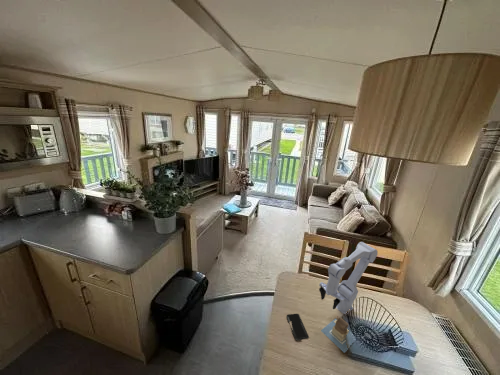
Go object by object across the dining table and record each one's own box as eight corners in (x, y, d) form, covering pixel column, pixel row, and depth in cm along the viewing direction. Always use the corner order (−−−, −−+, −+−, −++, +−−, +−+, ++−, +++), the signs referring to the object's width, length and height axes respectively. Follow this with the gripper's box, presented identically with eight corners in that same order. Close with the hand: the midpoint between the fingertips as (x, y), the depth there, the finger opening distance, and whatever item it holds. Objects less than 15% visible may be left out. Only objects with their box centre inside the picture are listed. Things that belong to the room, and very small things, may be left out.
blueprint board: (335, 319, 124) (335, 318, 124) (358, 338, 113) (358, 337, 113) (320, 331, 116) (320, 330, 116) (344, 353, 105) (344, 352, 105)
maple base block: (337, 327, 119) (339, 321, 117) (347, 335, 114) (349, 330, 113) (331, 332, 115) (332, 327, 114) (341, 341, 111) (343, 336, 109)
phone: (295, 339, 110) (286, 314, 124) (295, 341, 110) (285, 316, 124) (309, 338, 111) (298, 313, 125) (309, 339, 112) (298, 314, 126)
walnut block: (339, 323, 116) (340, 317, 115) (346, 330, 113) (348, 323, 111) (334, 327, 114) (336, 321, 112) (342, 334, 110) (343, 328, 109)
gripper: (317, 278, 121) (313, 297, 125) (340, 296, 110) (335, 316, 114) (325, 274, 125) (321, 292, 129) (348, 290, 114) (342, 310, 118)
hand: (328, 303), depth 122 cm, fingers open, 7 cm apart
